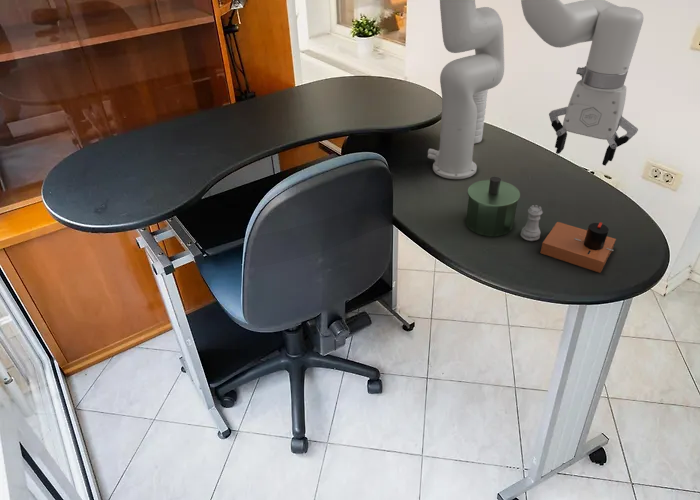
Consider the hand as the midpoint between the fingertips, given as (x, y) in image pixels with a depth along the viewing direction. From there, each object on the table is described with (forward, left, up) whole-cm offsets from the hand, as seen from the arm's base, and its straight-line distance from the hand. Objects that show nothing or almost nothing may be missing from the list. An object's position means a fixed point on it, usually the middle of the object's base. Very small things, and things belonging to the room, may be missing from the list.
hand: (582, 156), depth 108 cm
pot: (-16, -6, -20) cm, 26 cm away
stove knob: (+8, -6, -17) cm, 19 cm away
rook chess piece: (-6, -6, -20) cm, 22 cm away
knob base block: (+5, -6, -20) cm, 21 cm away
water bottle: (-40, +37, -20) cm, 58 cm away
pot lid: (-16, -6, -11) cm, 21 cm away
